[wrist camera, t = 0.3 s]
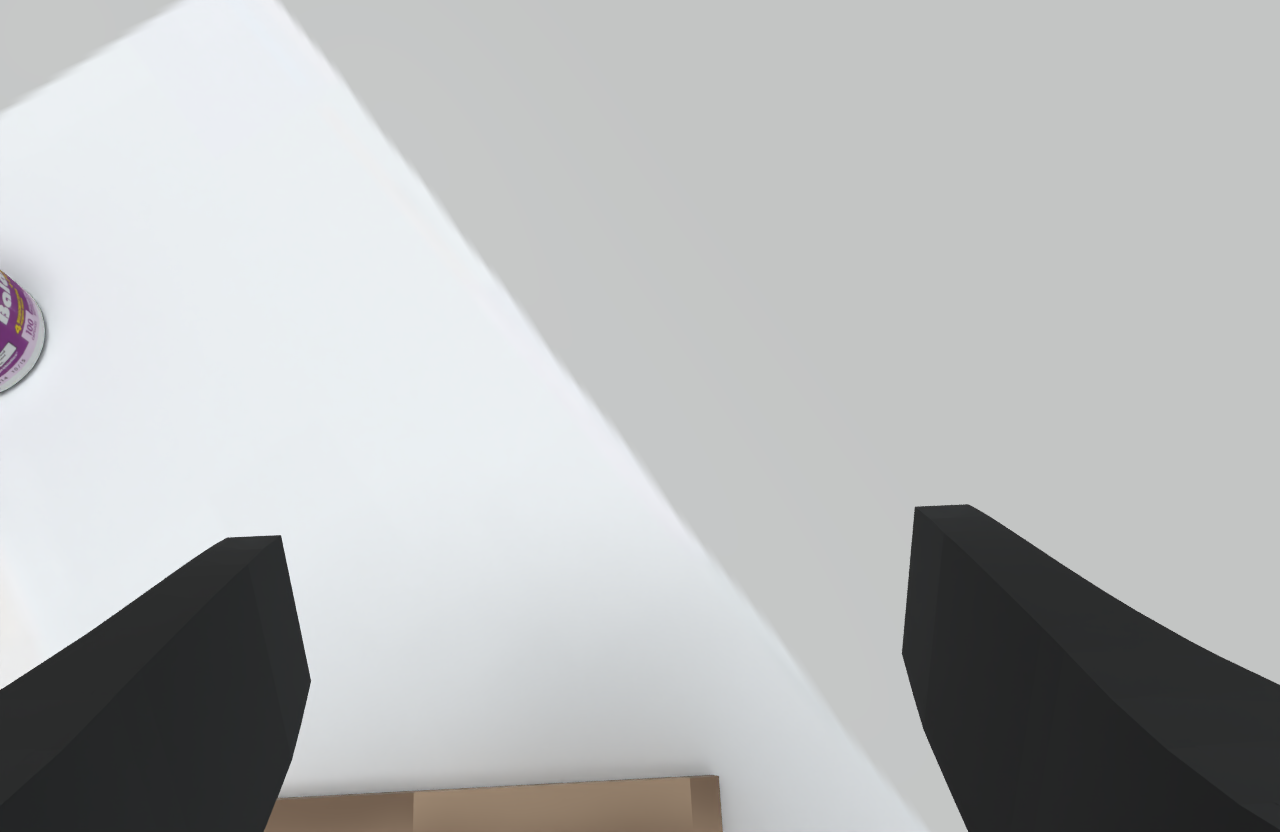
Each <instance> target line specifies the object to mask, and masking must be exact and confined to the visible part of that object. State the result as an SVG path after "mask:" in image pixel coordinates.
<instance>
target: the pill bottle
mask: <svg viewBox="0 0 1280 832" xmlns="http://www.w3.org/2000/svg"><path fill="white" fill-rule="evenodd" d="M44 337H45V328H44V321H43V317H42V313H41V310H40V308H39V306H38V305H37V303H36V302H35V300H34V299H33V298H32V297H31V296H30V295H29V294H28V293H27V292H26V291H25V290H24V289H23V288H22V287H20V286H19V285H18V284H17V283H16V282H14V281H13V280H12V279H11V278H10V277H8V276H7V275H6V274H5V273H3V272H2V271H1V270H0V392H2V391H4V390H6V389H8V388H10V387H12V386H13V385H14V384H16V383H17V382H18V381H20V380H21V379H22V378H23V377H24V376H25V375H26V374H27V373H28V372H29V371H30V370H31V369H32V368H33V366H34V364H35V363H36V361H37V359H38V357H39V355H40V353H41V350H42V347H43V343H44Z"/></svg>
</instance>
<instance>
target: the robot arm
mask: <svg viewBox="0 0 1280 832" xmlns="http://www.w3.org/2000/svg"><path fill="white" fill-rule="evenodd" d="M902 655H903V659H904V663H905V666H906V670H907V674H908V677H909V681H910V685H911V688H912V692H913V696H914V699H915V702H916V706H917V709H918V712H919V716H920V719H921V722H922V725H923V729H924V731H925V734H926V736H927V739H928V741H929V743H930V746H931V748H932V750H933V753H934V755H935V757H936V759H937V762H938V764H939V766H940V769H941V771H942V773H943V776H944V778H945V780H946V782H947V785H948V787H949V790H950V792H951V794H952V796H953V799H954V801H955V803H956V805H957V807H958V810H959V812H960V814H961V816H962V819H963V821H964V823H965V825H966V828H967V830H968V832H1280V685H1279V684H1276V683H1274V682H1272V681H1270V680H1268V679H1266V678H1264V677H1262V676H1260V675H1258V674H1256V673H1253V672H1251V671H1249V670H1247V669H1245V668H1243V667H1241V666H1239V665H1237V664H1234V663H1232V662H1230V661H1228V660H1226V659H1224V658H1222V657H1220V656H1218V655H1216V654H1214V653H1212V652H1210V651H1208V650H1206V649H1204V648H1202V647H1200V646H1198V645H1197V644H1195V643H1193V642H1191V641H1189V640H1187V639H1185V638H1183V637H1182V636H1180V635H1178V634H1176V633H1175V632H1173V631H1171V630H1169V629H1168V628H1166V627H1164V626H1162V625H1161V624H1159V623H1157V622H1155V621H1154V620H1152V619H1150V618H1148V617H1146V616H1145V615H1143V614H1141V613H1139V612H1137V611H1136V610H1134V609H1133V608H1131V607H1129V606H1127V605H1126V604H1124V603H1123V602H1121V601H1119V600H1117V599H1116V598H1114V597H1113V596H1111V595H1109V594H1108V593H1106V592H1105V591H1103V590H1101V589H1100V588H1098V587H1096V586H1095V585H1093V584H1092V583H1090V582H1089V581H1087V580H1086V579H1084V578H1082V577H1081V576H1079V575H1078V574H1076V573H1075V572H1073V571H1072V570H1070V569H1068V568H1067V567H1065V566H1064V565H1062V564H1061V563H1059V562H1058V561H1056V560H1055V559H1053V558H1052V557H1050V556H1048V555H1047V554H1046V553H1044V552H1043V551H1041V550H1039V549H1038V548H1037V547H1035V546H1034V545H1032V544H1031V543H1029V542H1027V541H1026V540H1025V539H1023V538H1022V537H1020V536H1019V535H1017V534H1016V533H1014V532H1013V531H1011V530H1010V529H1008V528H1006V527H1005V526H1003V525H1002V524H1000V523H999V522H997V521H996V520H994V519H993V518H991V517H989V516H988V515H986V514H984V513H983V512H981V511H979V510H978V509H976V508H974V507H972V506H970V505H967V504H966V505H945V506H925V507H924V506H922V507H915V512H914V524H913V535H912V546H911V557H910V569H909V580H908V591H907V603H906V614H905V626H904V636H903V648H902ZM310 683H311V679H310V674H309V669H308V664H307V659H306V655H305V650H304V645H303V640H302V635H301V630H300V626H299V621H298V616H297V611H296V606H295V601H294V596H293V592H292V587H291V582H290V577H289V572H288V567H287V563H286V558H285V553H284V548H283V543H282V538H281V535H276V536H253V537H231V538H226V539H224V540H222V541H220V542H219V543H217V544H215V545H213V546H212V547H210V548H209V549H207V550H206V551H204V552H203V553H201V554H200V555H198V556H197V557H195V558H194V559H192V560H191V561H189V562H188V563H186V564H185V565H184V566H182V567H181V568H179V569H178V570H176V571H175V572H174V573H172V574H171V575H169V576H168V577H167V578H165V579H164V580H162V581H161V582H160V583H158V584H157V585H155V586H154V587H153V588H151V589H150V590H148V591H147V592H146V593H144V594H143V595H141V596H140V597H139V598H137V599H136V600H134V601H133V602H131V603H130V604H129V605H127V606H126V607H124V608H123V609H122V610H120V611H119V612H117V613H116V614H114V615H113V616H112V617H110V618H109V619H107V620H106V621H104V622H103V623H102V624H100V625H99V626H97V627H96V628H95V629H93V630H92V631H90V632H89V633H87V634H86V635H84V636H83V637H81V638H80V639H78V640H77V641H75V642H74V643H72V644H71V645H69V646H67V647H66V648H64V649H63V650H61V651H60V652H58V653H57V654H55V655H54V656H52V657H51V658H49V659H47V660H46V661H44V662H43V663H41V664H40V665H38V666H37V667H35V668H34V669H32V670H31V671H29V672H27V673H26V674H24V675H23V676H21V677H20V678H18V679H17V680H15V681H14V682H12V683H11V684H9V685H8V686H6V687H4V688H3V689H1V690H0V832H264V830H265V827H266V825H267V822H268V820H269V817H270V815H271V812H272V810H273V807H274V805H275V802H276V800H277V797H278V795H279V792H280V789H281V787H282V784H283V782H284V779H285V777H286V774H287V771H288V769H289V766H290V763H291V761H292V757H293V753H294V750H295V746H296V742H297V738H298V734H299V730H300V727H301V723H302V718H303V714H304V709H305V705H306V701H307V696H308V692H309V688H310Z"/></svg>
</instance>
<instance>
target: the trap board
mask: <svg viewBox="0 0 1280 832" xmlns="http://www.w3.org/2000/svg"><path fill="white" fill-rule="evenodd" d="M264 832H723V831H722V816H721V802H720V788H719V776H715V775H703V776H684V777H666V778H647V779H628V780H609V781H591V782H572V783H553V784H535V785H516V786H497V787H479V788H460V789H441V790H423V791H404V792H385V793H366V794H348V795H329V796H310V797H292V798H277V800H276V802H275V805H274V807H273V810H272V812H271V815H270V817H269V820H268V822H267V825H266V827H265V830H264Z"/></svg>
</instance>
